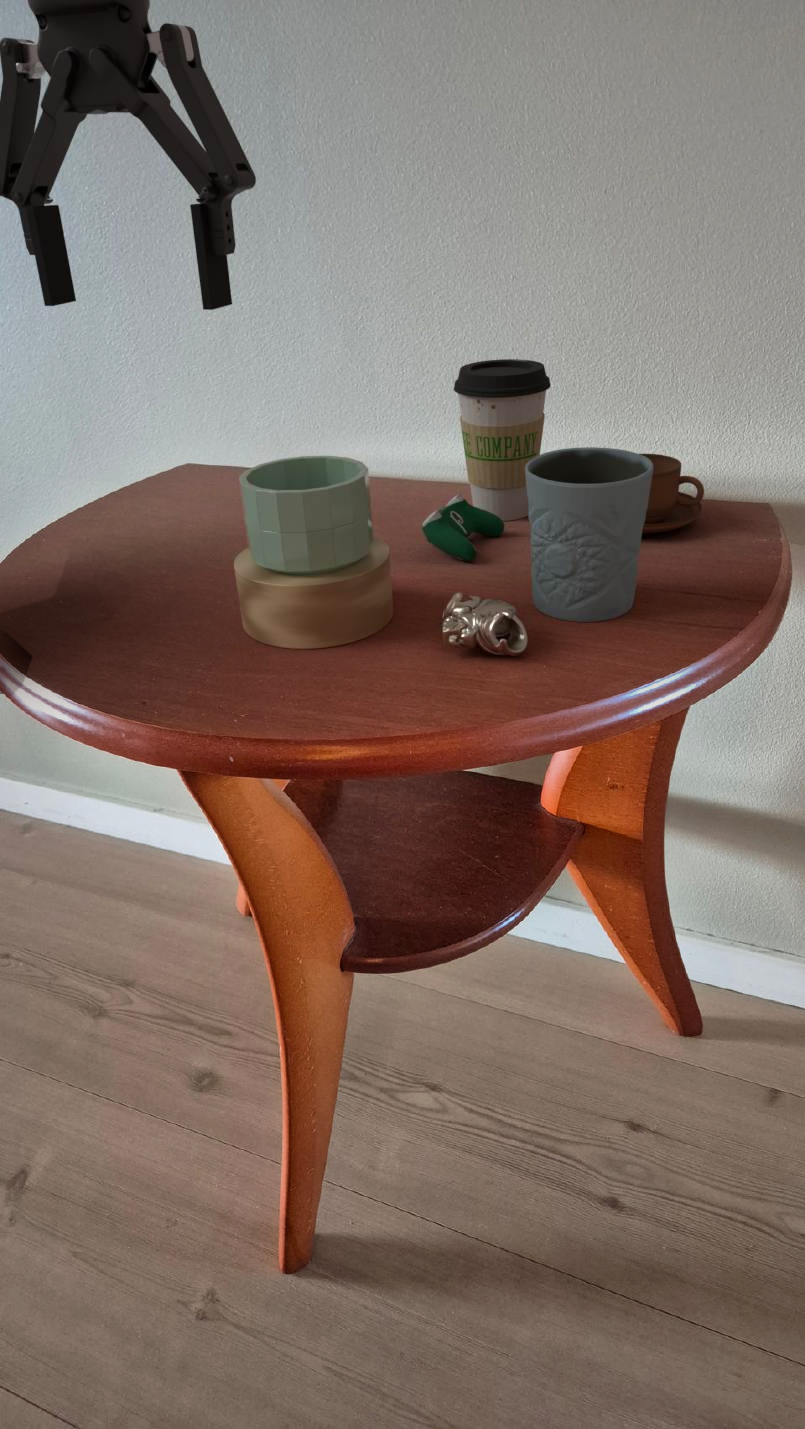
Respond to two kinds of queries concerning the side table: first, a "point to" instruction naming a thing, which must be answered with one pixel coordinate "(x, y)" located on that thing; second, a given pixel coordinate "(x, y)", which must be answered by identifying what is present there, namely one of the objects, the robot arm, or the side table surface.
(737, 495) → the side table surface
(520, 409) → the coffee cup
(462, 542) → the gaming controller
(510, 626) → the ornament
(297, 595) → the stand
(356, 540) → the bowl
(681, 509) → the cup and saucer
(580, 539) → the blue-grey embossed tumbler
